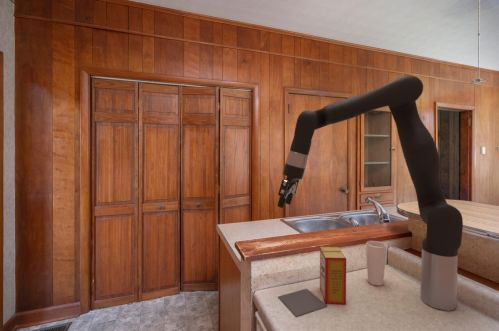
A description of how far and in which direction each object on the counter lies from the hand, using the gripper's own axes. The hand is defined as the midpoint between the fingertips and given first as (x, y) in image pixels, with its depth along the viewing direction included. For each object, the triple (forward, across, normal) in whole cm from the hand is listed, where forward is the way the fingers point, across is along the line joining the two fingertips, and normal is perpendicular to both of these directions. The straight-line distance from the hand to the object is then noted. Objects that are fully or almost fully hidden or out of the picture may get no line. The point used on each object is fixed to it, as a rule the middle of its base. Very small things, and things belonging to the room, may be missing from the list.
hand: (284, 205), depth 94 cm
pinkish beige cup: (+20, +15, -38) cm, 46 cm away
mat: (+27, -9, -17) cm, 33 cm away
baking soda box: (+24, -1, -25) cm, 35 cm away
